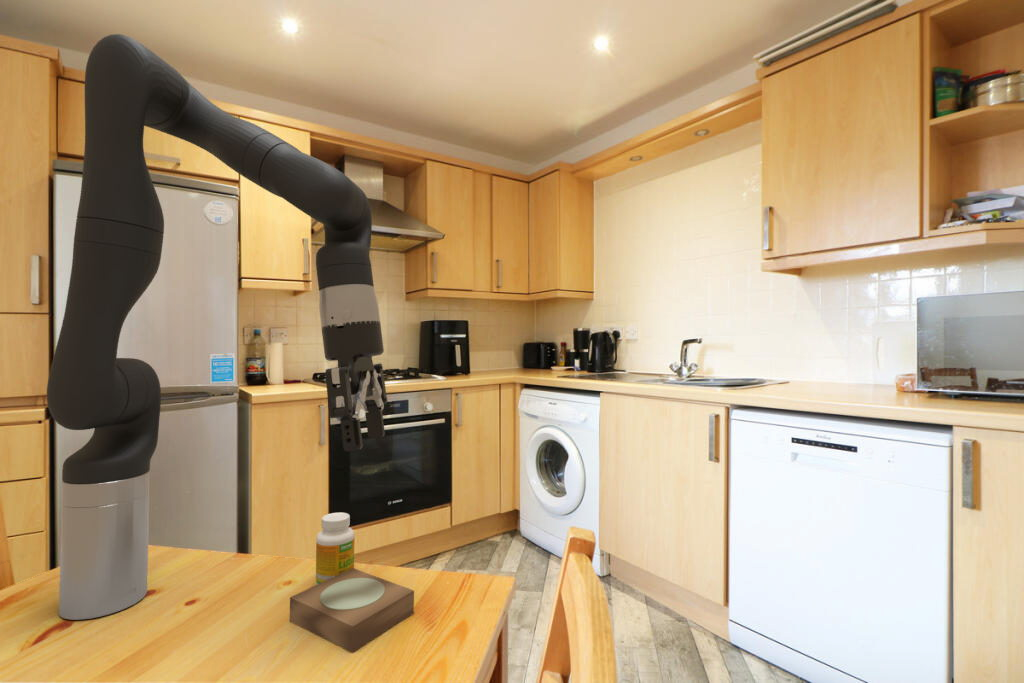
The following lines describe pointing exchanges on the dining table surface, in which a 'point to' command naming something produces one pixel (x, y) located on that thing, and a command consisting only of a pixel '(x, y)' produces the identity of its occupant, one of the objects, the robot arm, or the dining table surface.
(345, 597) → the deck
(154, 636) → the dining table surface
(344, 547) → the supplement bottle
